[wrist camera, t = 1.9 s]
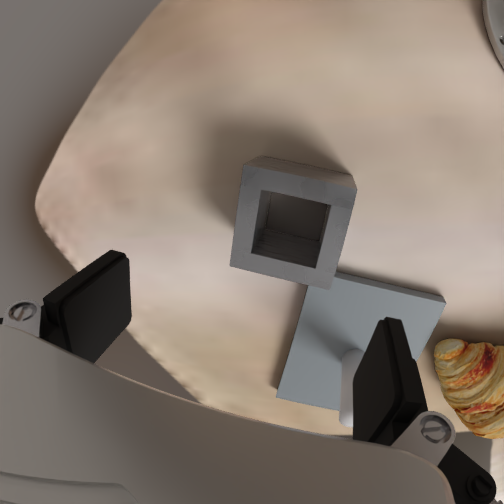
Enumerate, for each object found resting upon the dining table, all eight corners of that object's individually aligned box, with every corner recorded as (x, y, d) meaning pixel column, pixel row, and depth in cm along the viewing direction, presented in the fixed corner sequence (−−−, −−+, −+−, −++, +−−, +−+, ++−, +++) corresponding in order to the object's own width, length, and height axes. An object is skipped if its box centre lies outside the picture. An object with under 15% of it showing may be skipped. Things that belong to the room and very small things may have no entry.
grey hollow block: (260, 155, 22) (243, 164, 18) (352, 175, 21) (357, 189, 17) (247, 240, 25) (229, 265, 20) (331, 260, 24) (329, 290, 20)
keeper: (313, 266, 24) (303, 324, 17) (443, 296, 22) (471, 357, 16) (277, 390, 30) (261, 450, 23) (380, 410, 28) (382, 470, 22)
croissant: (406, 334, 28) (386, 410, 24) (483, 290, 20) (477, 385, 16) (511, 399, 28) (501, 457, 23) (572, 375, 20) (569, 440, 15)
